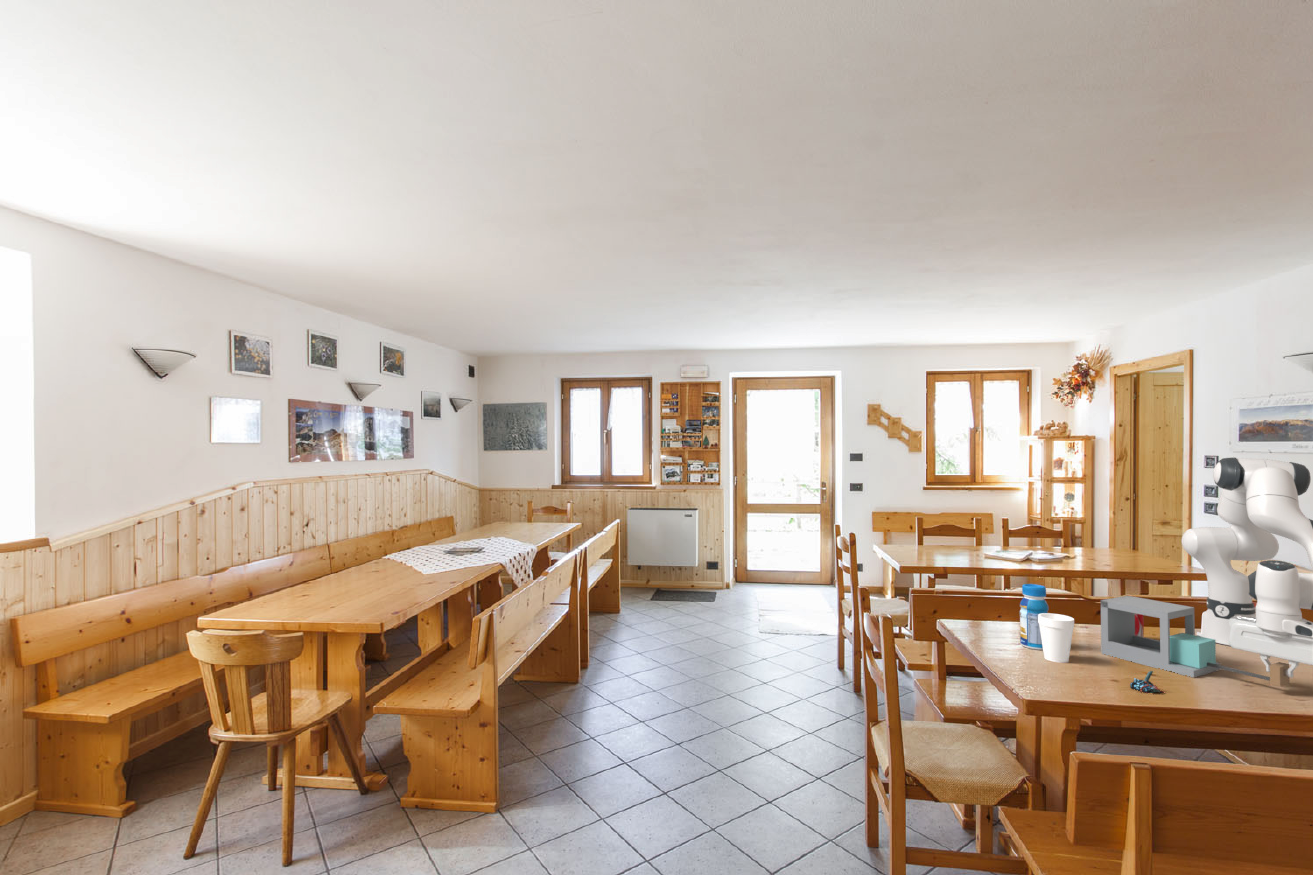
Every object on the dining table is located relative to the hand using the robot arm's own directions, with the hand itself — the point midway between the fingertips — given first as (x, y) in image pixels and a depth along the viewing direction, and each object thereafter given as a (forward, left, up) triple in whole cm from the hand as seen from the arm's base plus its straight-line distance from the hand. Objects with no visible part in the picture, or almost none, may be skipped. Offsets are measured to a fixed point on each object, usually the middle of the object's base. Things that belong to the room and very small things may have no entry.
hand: (1279, 674), depth 166 cm
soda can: (-18, -44, -5) cm, 47 cm away
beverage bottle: (+20, -54, -5) cm, 57 cm away
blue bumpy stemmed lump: (+31, -17, -5) cm, 36 cm away
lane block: (0, -11, -2) cm, 12 cm away
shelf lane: (0, -28, -5) cm, 28 cm away
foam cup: (+27, -43, -5) cm, 51 cm away
